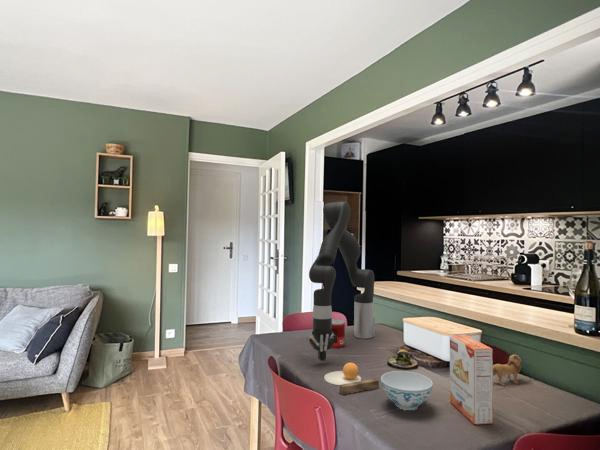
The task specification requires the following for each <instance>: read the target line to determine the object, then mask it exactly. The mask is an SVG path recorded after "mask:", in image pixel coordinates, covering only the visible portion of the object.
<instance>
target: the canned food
mask: <svg viewBox="0 0 600 450" xmlns="http://www.w3.org/2000/svg"><path fill="white" fill-rule="evenodd" d="M345 325H346V323H345V320H341V319H332V328H331V330H332V333H333V334H334V335H336V336H337V339H336V340H335V342H334V344H333V345H332V347H331V348H333V349H340V348H344V347H345V343H346V342H345V341H346V339H345V336H346V332H345V331H346V326H345ZM329 339H330V338H329Z"/></svg>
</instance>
